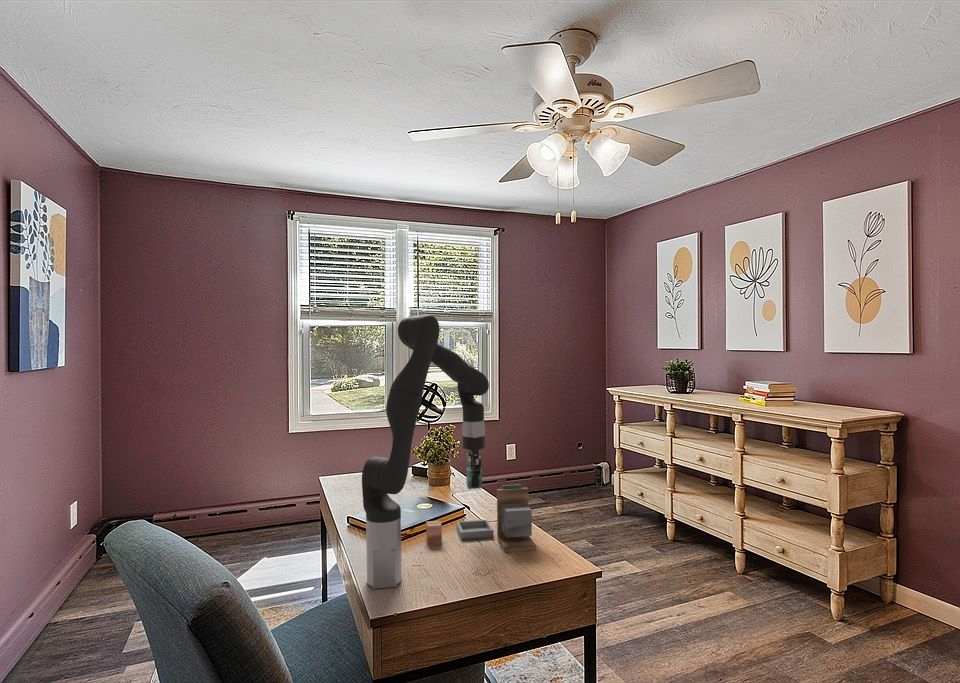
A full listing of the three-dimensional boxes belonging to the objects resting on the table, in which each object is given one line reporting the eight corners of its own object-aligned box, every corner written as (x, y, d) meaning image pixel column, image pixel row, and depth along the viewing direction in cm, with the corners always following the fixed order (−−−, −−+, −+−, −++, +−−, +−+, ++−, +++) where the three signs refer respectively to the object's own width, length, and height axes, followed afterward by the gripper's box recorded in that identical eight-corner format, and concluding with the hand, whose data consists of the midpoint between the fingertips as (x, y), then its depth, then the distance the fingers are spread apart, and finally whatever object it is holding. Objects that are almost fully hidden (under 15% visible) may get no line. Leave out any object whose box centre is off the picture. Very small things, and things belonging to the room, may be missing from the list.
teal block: (482, 488, 187) (482, 470, 187) (468, 489, 186) (468, 470, 186) (479, 484, 192) (479, 466, 191) (466, 485, 191) (466, 467, 191)
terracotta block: (441, 544, 180) (441, 525, 180) (427, 545, 179) (427, 526, 179) (440, 539, 184) (440, 520, 184) (426, 540, 183) (426, 521, 183)
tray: (493, 537, 185) (493, 530, 185) (461, 540, 183) (461, 532, 183) (487, 526, 195) (487, 519, 195) (456, 528, 193) (456, 521, 193)
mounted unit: (536, 549, 174) (535, 492, 174) (504, 552, 172) (503, 494, 172) (527, 537, 185) (526, 483, 184) (497, 539, 183) (496, 485, 183)
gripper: (459, 430, 195) (459, 480, 195) (465, 438, 181) (466, 492, 181) (480, 429, 196) (481, 479, 197) (488, 437, 182) (489, 490, 182)
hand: (474, 485), depth 189 cm, fingers closed on teal block, 4 cm apart
